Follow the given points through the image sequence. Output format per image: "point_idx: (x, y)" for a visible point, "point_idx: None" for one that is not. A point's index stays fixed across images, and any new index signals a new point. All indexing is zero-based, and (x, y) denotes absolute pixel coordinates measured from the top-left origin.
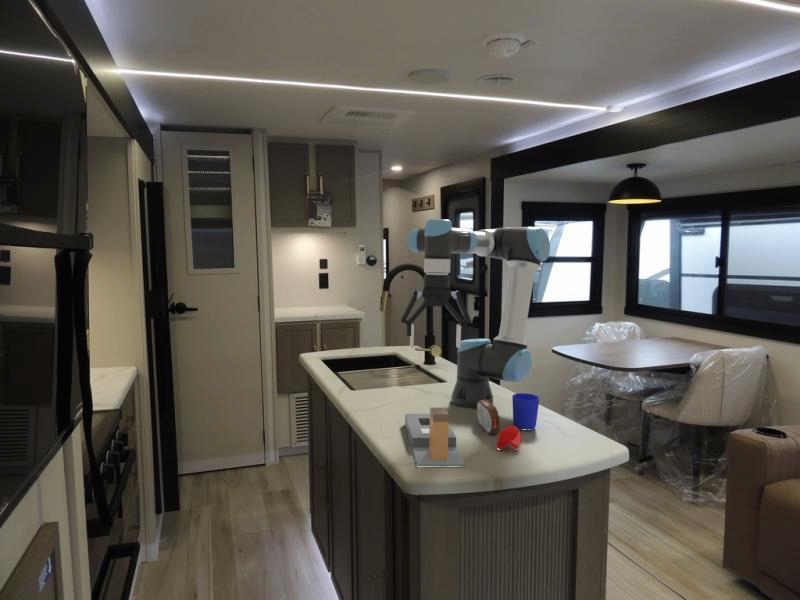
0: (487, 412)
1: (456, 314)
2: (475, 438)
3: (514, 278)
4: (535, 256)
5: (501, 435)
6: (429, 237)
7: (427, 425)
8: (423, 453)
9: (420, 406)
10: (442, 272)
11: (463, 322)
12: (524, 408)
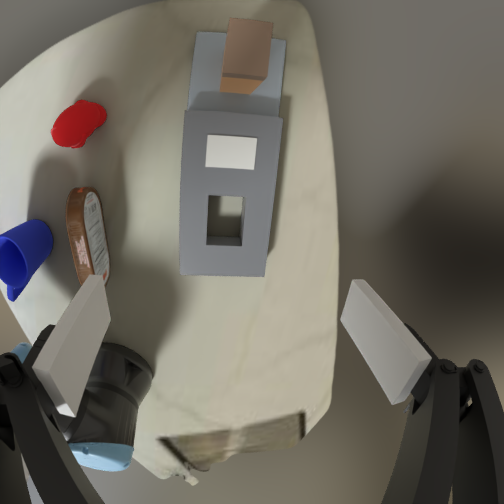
0: (86, 221)
1: (37, 461)
2: (130, 177)
3: None
4: None
5: (88, 114)
6: None
7: (231, 194)
8: (263, 85)
9: (209, 357)
10: None
11: (9, 384)
12: (19, 231)
